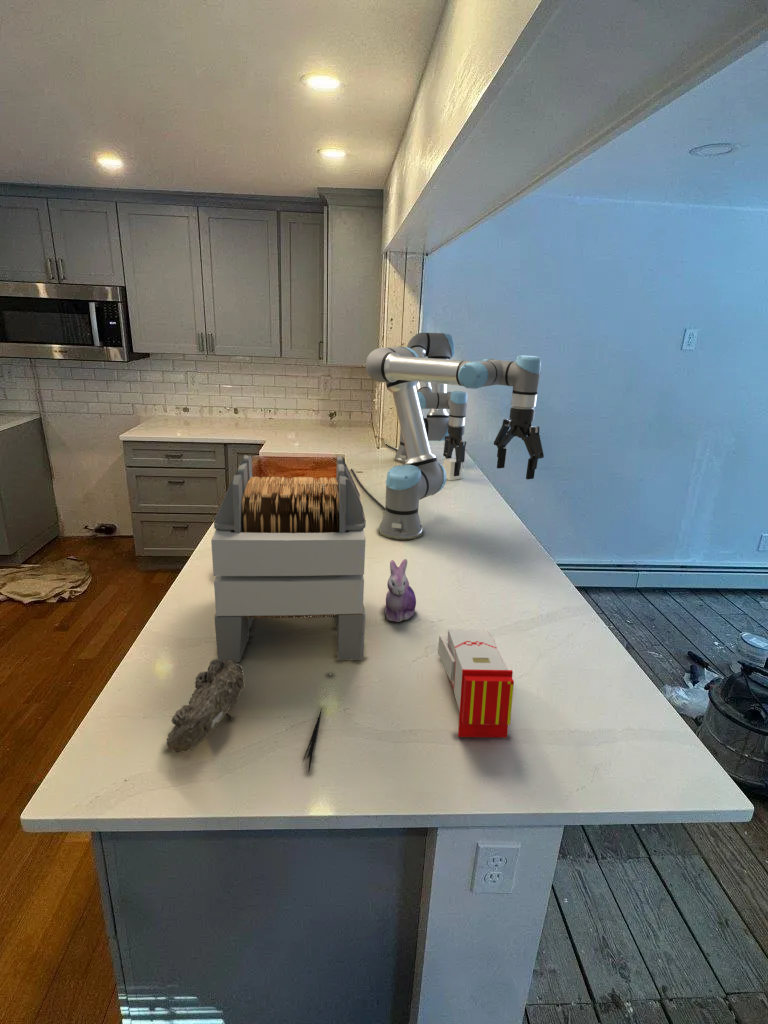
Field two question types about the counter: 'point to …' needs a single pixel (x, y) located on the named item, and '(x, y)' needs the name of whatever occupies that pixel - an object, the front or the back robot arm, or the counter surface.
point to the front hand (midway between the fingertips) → (514, 473)
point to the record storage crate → (289, 556)
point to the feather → (313, 740)
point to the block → (451, 469)
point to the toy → (478, 682)
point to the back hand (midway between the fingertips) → (452, 473)
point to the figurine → (399, 594)
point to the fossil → (206, 705)
